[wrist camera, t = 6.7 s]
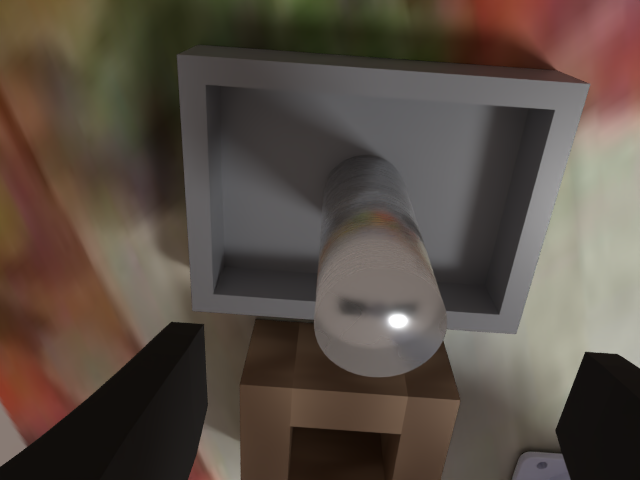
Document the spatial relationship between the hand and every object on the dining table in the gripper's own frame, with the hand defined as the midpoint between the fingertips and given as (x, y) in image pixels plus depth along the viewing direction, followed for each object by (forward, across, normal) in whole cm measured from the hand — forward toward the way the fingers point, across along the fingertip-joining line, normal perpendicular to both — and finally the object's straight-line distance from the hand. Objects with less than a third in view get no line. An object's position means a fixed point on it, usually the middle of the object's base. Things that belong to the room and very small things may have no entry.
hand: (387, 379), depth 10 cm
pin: (+10, 0, 0) cm, 10 cm away
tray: (+10, 0, 0) cm, 10 cm away
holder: (+10, 0, +10) cm, 15 cm away
